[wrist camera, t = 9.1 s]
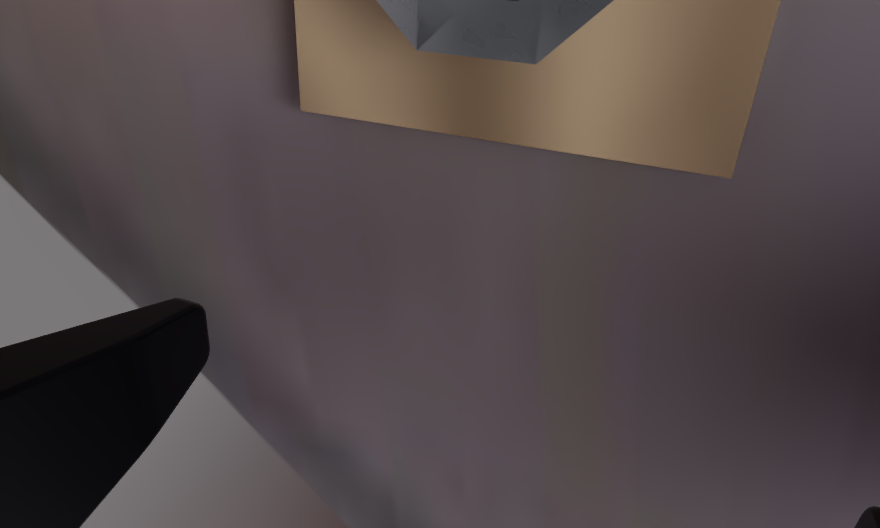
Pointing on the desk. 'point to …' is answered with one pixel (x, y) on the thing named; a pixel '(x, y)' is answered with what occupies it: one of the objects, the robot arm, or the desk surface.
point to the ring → (491, 25)
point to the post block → (555, 81)
